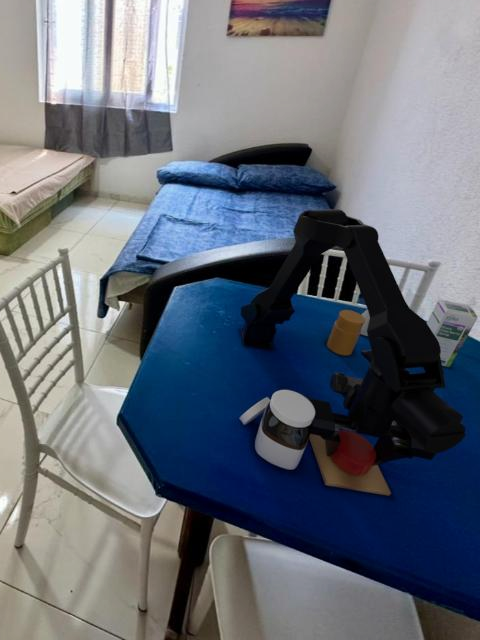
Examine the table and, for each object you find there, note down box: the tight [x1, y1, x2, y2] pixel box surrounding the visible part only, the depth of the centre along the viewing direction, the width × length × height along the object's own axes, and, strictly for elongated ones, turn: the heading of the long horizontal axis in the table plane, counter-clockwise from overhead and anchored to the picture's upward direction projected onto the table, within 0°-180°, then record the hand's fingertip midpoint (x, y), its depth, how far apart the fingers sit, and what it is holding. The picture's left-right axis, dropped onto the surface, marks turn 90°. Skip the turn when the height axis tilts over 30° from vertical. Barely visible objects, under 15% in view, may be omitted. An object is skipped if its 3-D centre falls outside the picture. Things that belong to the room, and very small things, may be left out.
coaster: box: [309, 434, 392, 497], centre depth 72 cm, size 10×10×1 cm
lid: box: [330, 429, 376, 476], centre depth 70 cm, size 6×6×3 cm
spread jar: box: [238, 389, 315, 471], centre depth 72 cm, size 12×11×12 cm
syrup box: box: [426, 298, 478, 368], centre depth 94 cm, size 6×6×14 cm
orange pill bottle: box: [326, 309, 365, 356], centre depth 97 cm, size 6×6×10 cm
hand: (348, 458), depth 71 cm, fingers closed on lid, 6 cm apart
